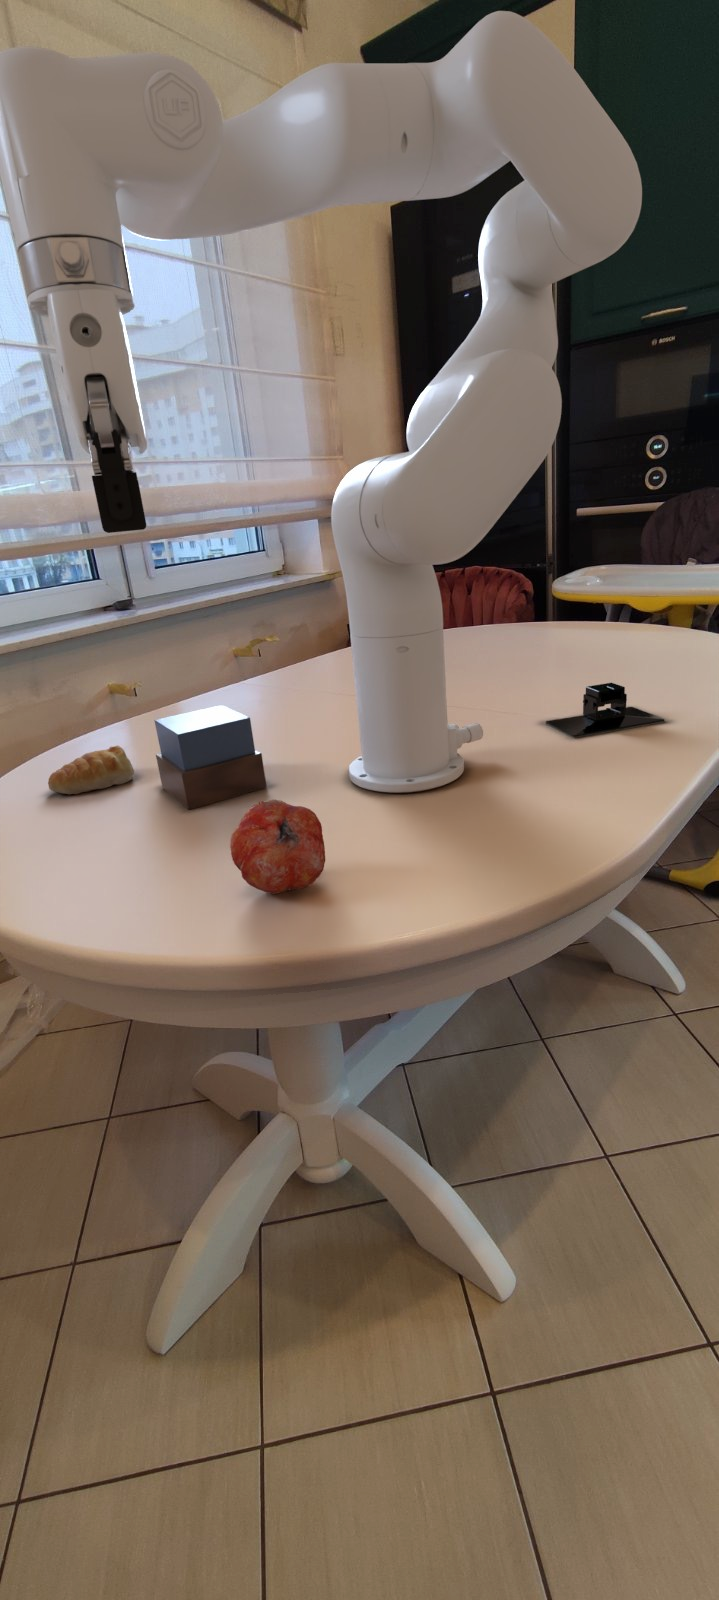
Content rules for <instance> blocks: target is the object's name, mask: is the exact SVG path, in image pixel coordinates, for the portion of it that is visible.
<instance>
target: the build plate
mask: <svg viewBox="0 0 719 1600" xmlns="http://www.w3.org/2000/svg"><path fill="white" fill-rule="evenodd" d="M627 697H628V694H627V693H626V687H625V686H623V685H620V684H618V683H615V682H607V683H600V684H594V685H588V686H585V694H583V699H582V714H579V715H573V716H568V717H561V718H556V719H549V720H545V725H547V726H549V727H551V728H553V729H555V730H557V731H559V732H561V733H563V734H565V735H567V736H569V737H571V738H575V739H576V738H581V737H588V736H592V735H597V734H598V735H599V734H603V733H610V732H615V731H621V730H627V729H632V728H638V727H643V726H650V725H654V724H660V723H661V724H662V723H665V722H666V721H665V719H666V718H663V717H661V716H658V715H655V714H653V713H650V712H648V711H644V710H642V709H639V708H637V707H633V706H627V702H628V698H627ZM605 705H610V707H606V706H605ZM601 707H602V708H603V707H606V708H605V709H600V710H599V708H601Z"/></svg>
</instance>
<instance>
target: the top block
mask: <svg viewBox="0 0 719 1600" xmlns="http://www.w3.org/2000/svg"><path fill="white" fill-rule="evenodd" d="M154 725H155V730H156V735H157V741H158V745H159V750H160V753H161V754H162V755H163V756H164V757H166V758H167V759H169V760H170V761H171V762H173V763H174V764H175V765H177V766H178V767H180V768H181V769H182V770H184V771H188V770H192V769H196V768H200V767H204V766H208V765H211V764H215V763H219V762H223V761H227V760H231V759H234V758H238V757H242V756H246V755H250V754H253V753H255V750H256V748H255V741H254V734H253V728H252V720H251V717H249V716H247V715H245V714H243V713H241V712H239V711H237V710H234V709H232V708H230V707H228V706H226V705H223V704H220V705H216V706H211V707H206V708H201V709H197V710H193V711H189V712H188V711H187V712H184V713H179V714H175V715H170V716H166V717H161V718H157V719H154Z"/></svg>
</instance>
